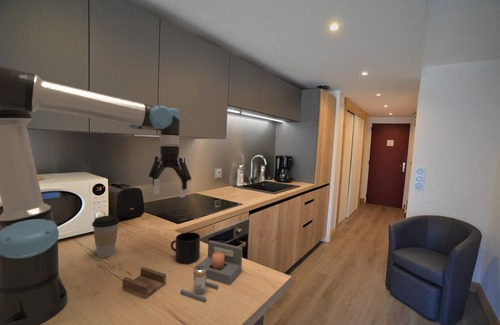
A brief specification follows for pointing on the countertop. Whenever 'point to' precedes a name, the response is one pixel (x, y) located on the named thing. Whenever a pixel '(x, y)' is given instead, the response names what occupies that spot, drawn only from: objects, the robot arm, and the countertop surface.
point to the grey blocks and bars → (227, 272)
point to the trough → (144, 282)
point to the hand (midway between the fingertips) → (169, 195)
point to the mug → (187, 247)
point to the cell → (199, 280)
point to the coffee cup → (105, 235)
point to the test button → (218, 260)
